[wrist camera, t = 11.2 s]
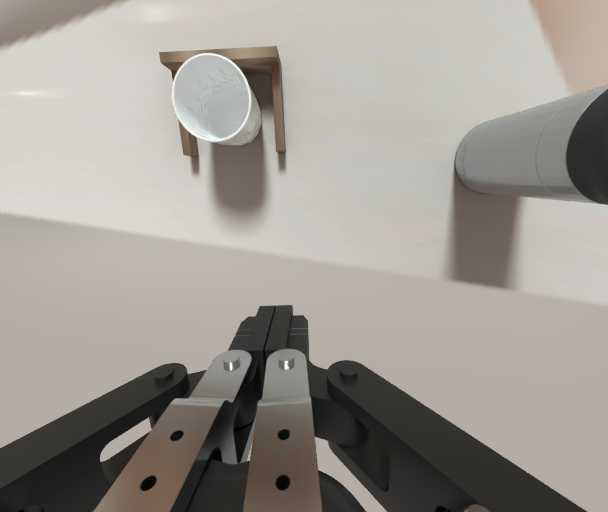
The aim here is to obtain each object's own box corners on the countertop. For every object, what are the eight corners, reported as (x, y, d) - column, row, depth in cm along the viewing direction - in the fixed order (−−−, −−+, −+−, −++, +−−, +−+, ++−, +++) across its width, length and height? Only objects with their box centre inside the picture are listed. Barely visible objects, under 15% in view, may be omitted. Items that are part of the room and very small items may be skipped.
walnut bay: (281, 63, 35) (276, 46, 31) (285, 152, 38) (282, 148, 33) (179, 68, 36) (159, 52, 31) (191, 156, 39) (174, 153, 34)
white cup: (220, 158, 39) (191, 152, 29) (197, 97, 37) (157, 70, 27) (274, 138, 38) (262, 126, 28) (253, 76, 36) (233, 39, 26)
